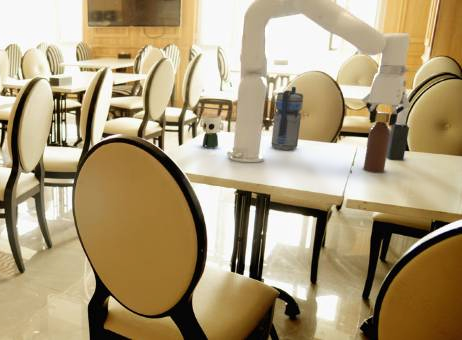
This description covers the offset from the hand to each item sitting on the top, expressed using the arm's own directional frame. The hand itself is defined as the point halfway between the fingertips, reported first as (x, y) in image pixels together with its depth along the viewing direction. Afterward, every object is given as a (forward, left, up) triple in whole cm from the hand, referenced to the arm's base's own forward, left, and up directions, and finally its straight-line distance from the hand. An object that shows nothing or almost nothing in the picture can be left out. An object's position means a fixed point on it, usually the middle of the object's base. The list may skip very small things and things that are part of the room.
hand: (382, 123), depth 178 cm
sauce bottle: (0, 0, -17) cm, 17 cm away
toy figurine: (-17, +58, -17) cm, 63 cm away
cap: (0, 0, +1) cm, 1 cm away
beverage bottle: (+6, +38, -17) cm, 42 cm away
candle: (+25, +2, -17) cm, 30 cm away
